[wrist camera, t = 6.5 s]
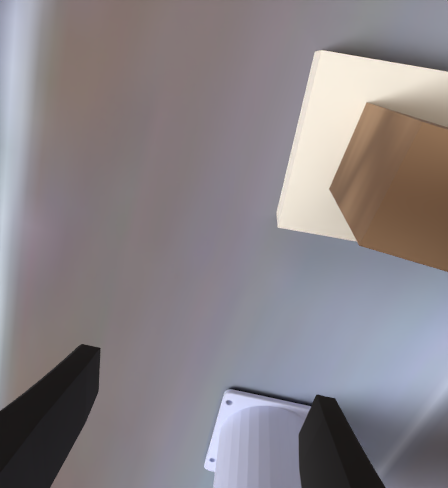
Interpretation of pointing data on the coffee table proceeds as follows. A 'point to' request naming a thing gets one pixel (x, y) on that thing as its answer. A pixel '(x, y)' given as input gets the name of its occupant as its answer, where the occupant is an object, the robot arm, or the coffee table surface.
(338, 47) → the coffee table surface
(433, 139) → the walnut block
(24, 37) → the coffee table surface
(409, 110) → the cream slab
